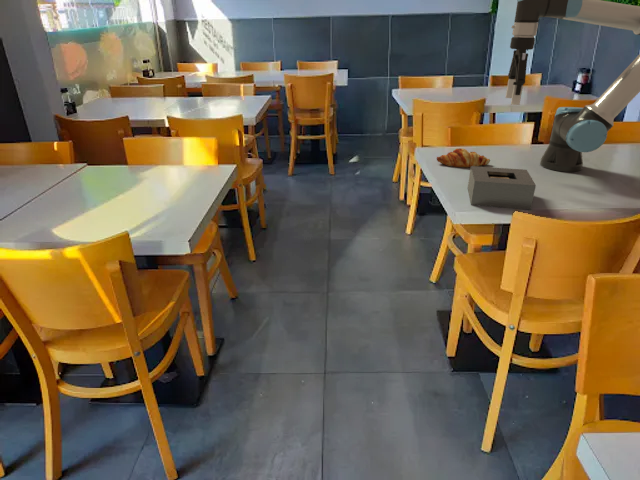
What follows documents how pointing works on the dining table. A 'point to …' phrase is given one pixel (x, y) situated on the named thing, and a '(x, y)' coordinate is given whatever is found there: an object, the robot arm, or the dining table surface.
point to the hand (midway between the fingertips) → (512, 101)
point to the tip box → (501, 187)
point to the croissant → (463, 159)
